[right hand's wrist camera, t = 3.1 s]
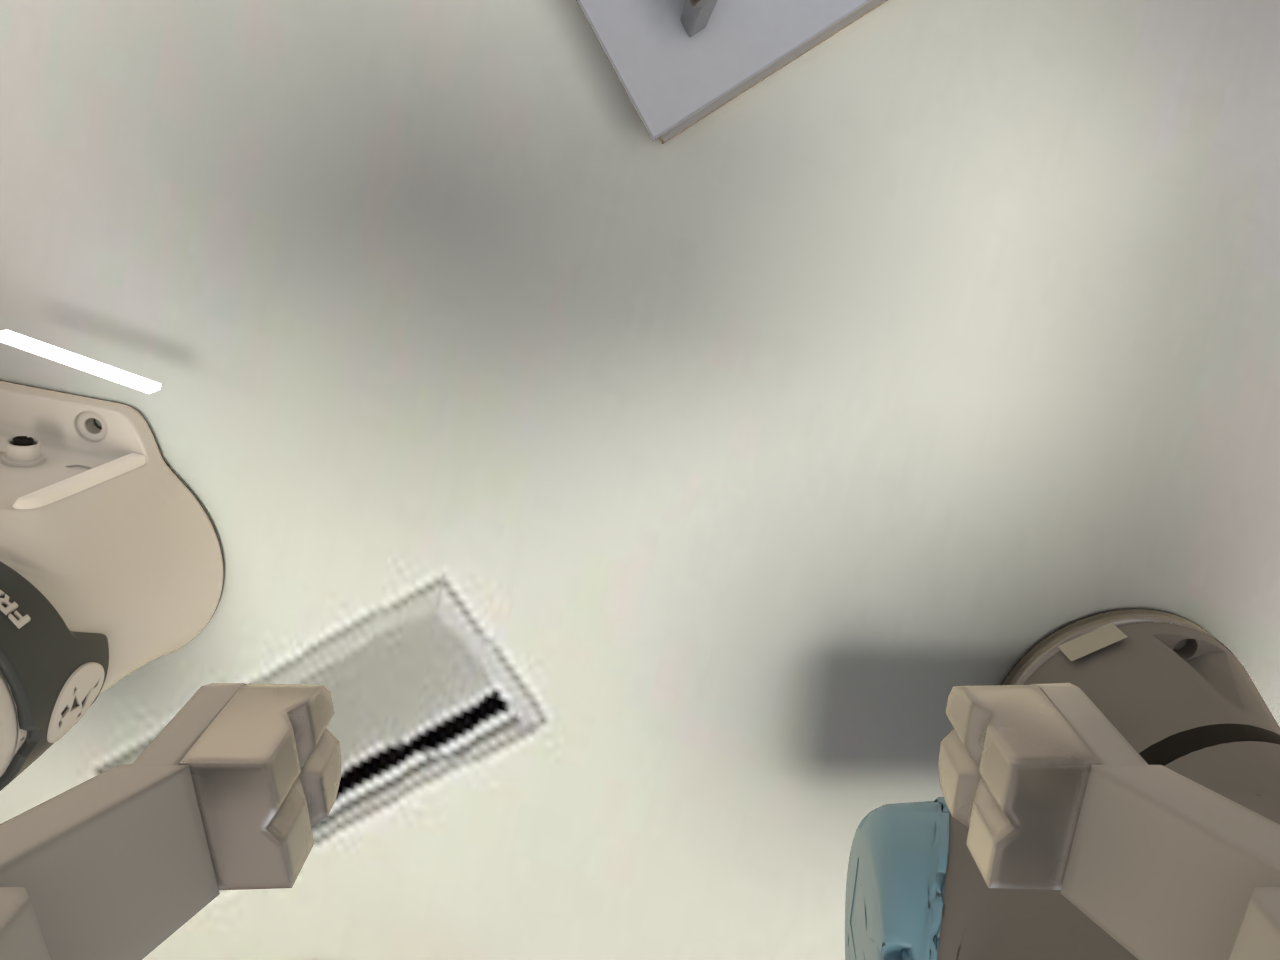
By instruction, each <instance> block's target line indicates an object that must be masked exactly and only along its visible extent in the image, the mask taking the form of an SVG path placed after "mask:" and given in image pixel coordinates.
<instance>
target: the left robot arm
mask: <svg viewBox="0 0 1280 960" xmlns="http://www.w3.org/2000/svg"><path fill="white" fill-rule="evenodd" d="M1049 683H1071V684H1073V685H1075V686H1077V687H1079V688H1080V689H1081V690H1082V691H1083V692H1084V693H1085V694H1086V695H1087V697H1088V698H1089V699H1090V700H1091V701H1092V702H1093V703H1094V704H1095V705H1096V707H1097V708H1098V709H1099V710H1100V711H1101V712H1102V713H1103V714H1104V716H1105V717H1106V718H1107V719H1108V720H1109V721H1110V722H1111V723H1112V724H1113V726H1114V727H1115V728H1116V729H1117V730H1118V731H1119V732H1120V733H1121V735H1122V736H1123V737H1124V738H1125V739H1126V740H1127V741H1128V742H1129V743H1130V745H1131V746H1132V747H1133V748H1134V749H1135V750H1136V751H1137V752H1138V754H1139V755H1140V756H1141V757H1142V758H1143V759H1144V760H1145V761H1146V762H1147V764H1148V765H1163V766H1165V767H1167V768H1169V769H1171V770H1172V771H1174V772H1176V773H1178V774H1180V775H1182V776H1184V777H1186V778H1188V779H1190V780H1192V781H1194V782H1196V783H1198V784H1200V785H1202V786H1204V787H1206V788H1208V789H1210V790H1212V791H1214V792H1216V793H1218V794H1220V795H1222V796H1224V797H1226V798H1228V799H1230V800H1232V801H1234V802H1236V803H1238V804H1240V805H1242V806H1244V807H1246V808H1248V809H1250V810H1252V811H1254V812H1256V813H1258V814H1260V815H1262V816H1264V817H1266V818H1268V819H1270V820H1272V821H1274V822H1276V823H1278V824H1280V727H1279V726H1278V724H1277V722H1276V721H1275V719H1274V717H1273V716H1272V714H1271V712H1270V710H1269V709H1268V707H1267V705H1266V704H1265V702H1264V700H1263V699H1262V697H1261V695H1260V694H1259V692H1258V690H1257V688H1256V687H1255V685H1254V683H1253V682H1252V680H1251V678H1250V677H1249V675H1248V673H1247V671H1246V670H1245V669H1244V667H1243V666H1242V664H1241V663H1240V662H1239V661H1238V660H1237V658H1236V657H1235V656H1234V655H1233V654H1232V652H1231V651H1230V650H1229V649H1228V648H1227V647H1226V646H1224V645H1223V644H1222V643H1221V642H1220V641H1218V640H1217V639H1216V638H1214V637H1213V636H1212V635H1210V634H1209V633H1208V632H1206V631H1205V630H1204V629H1202V628H1201V627H1199V626H1198V625H1196V624H1195V623H1193V622H1191V621H1189V620H1187V619H1185V618H1182V617H1180V616H1177V615H1174V614H1170V613H1167V612H1162V611H1156V610H1146V609H1127V610H1117V611H1111V612H1105V613H1101V614H1097V615H1093V616H1090V617H1087V618H1084V619H1081V620H1079V621H1076V622H1074V623H1072V624H1069V625H1067V626H1065V627H1064V628H1062V629H1060V630H1058V631H1056V632H1054V633H1053V634H1051V635H1050V636H1048V637H1046V638H1045V639H1044V640H1042V641H1041V642H1040V643H1038V644H1037V645H1036V646H1034V647H1033V648H1032V649H1031V650H1030V651H1029V652H1028V653H1026V654H1025V656H1024V657H1023V658H1022V659H1021V660H1020V661H1019V662H1018V663H1017V664H1016V665H1015V667H1014V668H1013V669H1012V670H1011V671H1010V673H1009V674H1008V676H1007V677H1006V679H1005V680H1004V682H1003V684H1002V685H1031V684H1049ZM968 831H969V828H968V827H966V826H965V825H964V824H962V823H961V822H959V821H958V820H957V819H955V818H954V817H952V815H951V812H950V810H949V808H948V806H947V804H946V802H945V799H944V797H938V798H937V799H936V800H935V801H928V802H913V803H899V804H887V805H883V806H882V807H879V808H877V809H875V810H873V811H871V812H870V813H869V814H868V815H867V816H866V817H865V818H864V819H863V820H862V821H861V823H860V824H859V826H858V828H857V831H856V833H855V836H854V839H853V843H852V847H851V852H850V857H849V864H848V873H847V884H846V902H845V960H1138V959H1137V958H1136V957H1135V956H1134V955H1133V954H1131V953H1130V952H1129V951H1128V950H1127V949H1125V948H1124V947H1123V946H1122V945H1121V944H1120V943H1118V942H1117V941H1116V940H1115V939H1114V938H1112V937H1111V936H1110V935H1109V934H1108V933H1107V932H1105V931H1104V930H1103V929H1102V928H1101V927H1099V926H1098V925H1097V924H1096V923H1095V922H1093V921H1092V920H1091V919H1090V918H1089V917H1088V916H1086V915H1085V914H1084V913H1083V912H1082V911H1080V910H1079V909H1078V908H1077V907H1076V906H1075V905H1073V904H1072V903H1071V902H1070V901H1069V900H1067V899H1066V898H1065V897H1064V896H1063V895H1062V894H1060V892H1061V890H1042V889H1007V888H988V886H987V884H986V882H985V880H984V878H983V876H982V874H981V872H980V870H979V868H978V866H977V864H976V862H975V860H974V858H973V857H972V855H971V853H970V851H969V849H968V847H967V845H966V842H967V837H968Z"/></svg>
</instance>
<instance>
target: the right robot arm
mask: <svg viewBox="0 0 1280 960" xmlns="http://www.w3.org/2000/svg"><path fill="white" fill-rule="evenodd" d="M0 342H2V343H4V344H7V345H10V346H13V347H16V348H19V349H22V350H24V351H27V352H30V353H33V354H36V355H39V356H42V357H44V358H47V359H50V360H53V361H56V362H59V363H62V364H64V365H67V366H70V367H73V368H76V369H79V370H82V371H85V372H87V373H90V374H93V375H96V376H99V377H102V378H105V379H107V380H110V381H113V382H116V383H119V384H122V385H125V386H127V387H130V388H133V389H136V390H139V391H142V392H145V393H147V394H151V393H153V392H155V391H158V390H160V389H161V383H158V382H155V381H152V380H149V379H147V378H144V377H141V376H138V375H135V374H132V373H130V372H127V371H124V370H121V369H118V368H115V367H113V366H110V365H107V364H104V363H101V362H98V361H95V360H93V359H90V358H87V357H84V356H81V355H78V354H76V353H73V352H70V351H67V350H64V349H61V348H59V347H56V346H53V345H50V344H47V343H44V342H41V341H39V340H36V339H33V338H30V337H27V336H24V335H22V334H19V333H16V332H13V331H10V330H7V329H6V330H2V331H0ZM94 419H96V420H98V421H99V422H100V424H101V426H102V429H99V428H97V427H96V426H95V424H94ZM222 586H223V560H222V554H221V549H220V545H219V542H218V539H217V536H216V533H215V531H214V528H213V526H212V524H211V522H210V520H209V518H208V516H207V514H206V513H205V511H204V510H203V508H202V506H201V505H200V503H199V502H198V501H197V499H196V498H195V497H194V495H193V494H192V493H191V492H190V491H189V489H188V488H187V487H186V486H185V485H184V484H183V483H182V482H181V481H180V480H179V479H178V477H177V476H176V475H175V474H174V473H173V472H172V471H171V470H170V468H169V467H168V466H167V464H166V463H165V462H164V460H163V459H162V456H161V454H160V451H159V448H158V446H157V444H156V441H155V439H154V436H153V434H152V432H151V430H150V428H149V426H148V424H147V422H146V421H145V419H144V418H143V416H142V415H141V414H140V413H139V412H138V411H137V410H135V409H134V408H132V407H130V406H128V405H124V404H120V403H115V402H110V401H104V400H99V399H94V398H89V397H83V396H78V395H73V394H67V393H62V392H57V391H51V390H46V389H41V388H36V387H30V386H25V385H20V384H14V383H9V382H4V381H0V791H1V790H2V789H3V788H4V787H5V786H6V785H8V784H9V783H10V782H11V781H12V780H13V779H14V778H16V777H17V776H18V775H19V774H20V773H21V772H22V771H24V770H25V769H26V768H27V767H28V766H29V765H30V764H32V763H33V762H34V761H35V760H36V759H37V758H38V757H39V756H41V755H42V754H43V753H44V752H45V751H46V750H47V749H48V748H49V747H50V746H51V745H52V744H53V743H54V742H56V741H57V740H59V739H60V738H61V737H62V736H63V735H64V734H65V733H67V732H68V731H69V730H70V729H71V728H72V727H73V726H74V724H75V723H76V722H77V721H78V720H79V719H80V718H81V717H82V716H83V714H84V713H85V712H86V711H87V709H88V708H89V707H90V706H91V705H92V704H93V702H94V701H95V700H96V698H97V697H98V695H100V694H101V693H102V692H104V691H105V690H106V689H108V688H109V687H111V686H112V685H114V684H115V683H116V682H118V681H119V680H121V679H122V678H124V677H125V676H127V675H128V674H130V673H131V672H133V671H135V670H136V669H138V668H140V667H141V666H143V665H145V664H147V663H149V662H151V661H153V660H155V659H157V658H159V657H161V656H164V655H166V654H169V653H171V652H173V651H175V650H177V649H179V648H181V647H182V646H184V645H186V644H187V643H188V642H190V641H191V640H192V639H194V638H195V637H196V636H197V635H198V634H199V633H200V632H201V631H202V630H203V629H204V627H205V626H206V625H207V624H208V622H209V621H210V619H211V618H212V616H213V614H214V612H215V610H216V608H217V605H218V603H219V599H220V596H221V592H222ZM333 715H334V708H333V703H332V698H331V693H330V691H329V690H328V689H327V688H326V687H325V686H324V685H296V684H244V683H212V684H209V685H205V686H202V687H201V688H200V689H199V690H198V691H197V692H196V693H195V694H194V695H193V697H192V698H191V699H190V700H189V701H188V702H187V703H186V704H185V705H184V707H183V708H182V709H181V710H180V711H179V712H178V713H177V714H176V716H175V717H174V718H173V719H172V720H171V721H170V722H169V723H168V724H167V726H166V727H165V728H164V729H163V730H162V731H161V732H160V733H159V735H158V736H157V737H156V738H155V739H154V740H153V741H152V742H151V743H150V745H149V746H148V747H147V748H146V749H145V750H144V751H143V752H142V754H141V755H140V756H139V757H138V758H137V759H136V760H135V761H134V762H133V764H132V765H117V766H115V767H113V768H111V769H109V770H107V771H105V772H104V773H102V774H100V775H98V776H96V777H94V778H92V779H90V780H88V781H86V782H84V783H82V784H80V785H78V786H76V787H74V788H72V789H70V790H68V791H66V792H64V793H62V794H60V795H58V796H56V797H54V798H52V799H50V800H48V801H46V802H44V803H42V804H40V805H38V806H36V807H34V808H32V809H30V810H28V811H26V812H24V813H22V814H20V815H18V816H16V817H14V818H12V819H10V820H8V821H6V822H4V823H2V824H0V960H142V959H143V958H144V957H145V956H147V955H148V954H149V953H150V952H151V951H152V950H154V949H155V948H156V947H157V946H158V945H160V944H161V943H162V942H163V941H164V940H165V939H167V938H168V937H169V936H170V935H171V934H173V933H174V932H175V931H176V930H177V929H179V928H180V927H181V926H182V925H183V924H184V923H186V922H187V921H188V920H189V919H190V918H192V917H193V916H194V915H195V914H196V913H198V912H199V911H200V910H201V909H202V908H203V907H205V906H206V905H207V904H208V903H209V902H211V901H212V900H213V899H214V898H215V897H217V896H218V895H219V890H237V889H272V888H292V886H293V884H294V882H295V880H296V878H297V876H298V874H299V872H300V870H301V868H302V866H303V864H304V862H305V860H306V859H307V857H308V855H309V853H310V851H311V849H312V847H313V845H314V842H313V836H312V831H311V828H312V827H314V826H315V825H316V824H318V823H319V822H321V821H322V820H323V819H325V818H326V817H328V815H329V812H330V810H331V808H332V806H333V804H334V802H335V800H336V796H337V792H338V787H339V783H340V779H341V751H340V744H339V741H338V740H337V739H336V738H335V737H334V736H333V735H332V734H331V733H330V732H329V731H328V730H327V729H326V727H327V725H328V723H329V722H330V720H331V718H332V716H333ZM946 715H947V716H948V718H949V720H950V722H951V723H952V725H953V727H954V729H953V730H952V731H951V732H950V733H949V734H948V735H947V736H946V737H945V738H944V739H943V740H942V741H941V745H940V753H939V761H938V766H939V776H940V786H941V789H942V792H943V796H944V799H945V802H946V804H947V806H948V808H949V810H950V812H951V815H952V817H954V818H955V819H957V820H958V821H959V822H961V823H962V824H964V825H965V826H966V827H968V828H969V831H968V837H967V842H966V845H967V847H968V849H969V851H970V853H971V855H972V857H973V858H974V860H975V862H976V864H977V866H978V868H979V870H980V872H981V874H982V876H983V878H984V880H985V882H986V884H987V886H988V888H1007V889H1042V890H1061V892H1060V894H1062V895H1063V896H1064V897H1065V898H1066V899H1067V900H1069V901H1070V902H1071V903H1072V904H1073V905H1075V906H1076V907H1077V908H1078V909H1079V910H1080V911H1082V912H1083V913H1084V914H1085V915H1086V916H1088V917H1089V918H1090V919H1091V920H1092V921H1093V922H1095V923H1096V924H1097V925H1098V926H1099V927H1101V928H1102V929H1103V930H1104V931H1105V932H1107V933H1108V934H1109V935H1110V936H1111V937H1112V938H1114V939H1115V940H1116V941H1117V942H1118V943H1120V944H1121V945H1122V946H1123V947H1124V948H1125V949H1127V950H1128V951H1129V952H1130V953H1131V954H1133V955H1134V956H1135V957H1136V958H1137V959H1138V960H1280V824H1278V823H1276V822H1274V821H1272V820H1270V819H1268V818H1266V817H1264V816H1262V815H1260V814H1258V813H1256V812H1254V811H1252V810H1250V809H1248V808H1246V807H1244V806H1242V805H1240V804H1238V803H1236V802H1234V801H1232V800H1230V799H1228V798H1226V797H1224V796H1222V795H1220V794H1218V793H1216V792H1214V791H1212V790H1210V789H1208V788H1206V787H1204V786H1202V785H1200V784H1198V783H1196V782H1194V781H1192V780H1190V779H1188V778H1186V777H1184V776H1182V775H1180V774H1178V773H1176V772H1174V771H1172V770H1171V769H1169V768H1167V767H1165V766H1163V765H1148V764H1147V762H1146V761H1145V760H1144V759H1143V758H1142V757H1141V756H1140V755H1139V754H1138V752H1137V751H1136V750H1135V749H1134V748H1133V747H1132V746H1131V745H1130V743H1129V742H1128V741H1127V740H1126V739H1125V738H1124V737H1123V736H1122V735H1121V733H1120V732H1119V731H1118V730H1117V729H1116V728H1115V727H1114V726H1113V724H1112V723H1111V722H1110V721H1109V720H1108V719H1107V718H1106V717H1105V716H1104V714H1103V713H1102V712H1101V711H1100V710H1099V709H1098V708H1097V707H1096V705H1095V704H1094V703H1093V702H1092V701H1091V700H1090V699H1089V698H1088V697H1087V695H1086V694H1085V693H1084V692H1083V691H1082V690H1081V689H1080V688H1079V687H1077V686H1075V685H1073V684H1071V683H1049V684H1031V685H993V686H953V688H952V690H951V692H950V694H949V696H948V701H947V707H946Z"/></svg>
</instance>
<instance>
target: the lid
mask: <svg viewBox="0 0 1280 960" xmlns="http://www.w3.org/2000/svg"><path fill="white" fill-rule="evenodd" d="M871 1H872V0H577V2H578V4H579V6H580V7H581V9H582V11H583V13H584V15H585V17H586V19H587V20H588V22H589V24H590V26H591V28H592V30H593V31H594V33H595V35H596V37H597V39H598V41H599V43H600V44H601V46H602V48H603V50H604V52H605V54H606V56H607V57H608V59H609V61H610V63H611V65H612V67H613V69H614V70H615V72H616V74H617V76H618V78H619V80H620V82H621V83H622V85H623V87H624V89H625V91H626V93H627V95H628V96H629V98H630V100H631V102H632V104H633V106H634V108H635V109H636V111H637V113H638V115H639V117H640V119H641V121H642V122H643V124H644V126H645V128H646V130H647V132H648V133H649V135H650V137H651V139H652V140H655V139H657V138H658V137H660V136H661V135H663V134H665V133H666V132H668V131H669V130H671V129H672V128H674V127H675V126H677V125H679V124H680V123H682V122H683V121H685V120H686V119H688V118H689V117H691V116H693V115H694V114H696V113H697V112H699V111H700V110H702V109H704V108H705V107H707V106H708V105H710V104H711V103H713V102H714V101H716V100H718V99H719V98H721V97H722V96H724V95H725V94H727V93H729V92H730V91H732V90H733V89H735V88H736V87H738V86H739V85H741V84H743V83H744V82H746V81H747V80H749V79H750V78H752V77H754V76H755V75H757V74H758V73H760V72H761V71H763V70H764V69H766V68H768V67H769V66H771V65H772V64H774V63H775V62H777V61H778V60H780V59H782V58H783V57H785V56H786V55H788V54H789V53H791V52H793V51H794V50H796V49H797V48H799V47H800V46H802V45H803V44H805V43H807V42H808V41H810V40H811V39H813V38H814V37H816V36H818V35H819V34H821V33H822V32H824V31H825V30H827V29H828V28H830V27H832V26H833V25H835V24H836V23H838V22H839V21H841V20H843V19H844V18H846V17H847V16H849V15H850V14H852V13H853V12H855V11H857V10H858V9H860V8H861V7H863V6H864V5H866V4H868V3H869V2H871Z"/></svg>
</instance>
